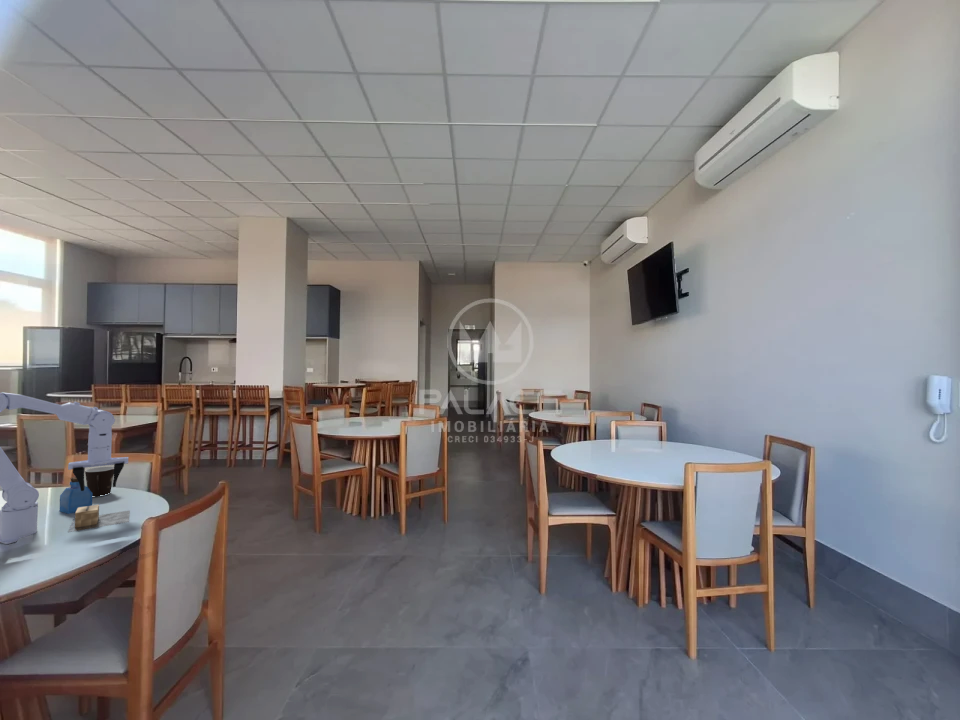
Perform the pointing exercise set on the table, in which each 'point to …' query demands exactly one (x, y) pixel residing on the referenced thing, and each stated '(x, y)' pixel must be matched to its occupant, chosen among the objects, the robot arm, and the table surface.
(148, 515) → the table surface
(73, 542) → the table surface
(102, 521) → the hub plate
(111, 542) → the table surface
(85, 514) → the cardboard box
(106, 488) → the coffee mug
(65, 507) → the perfume bottle
